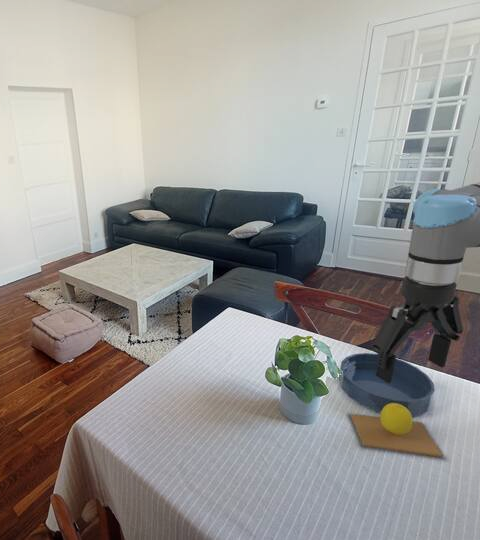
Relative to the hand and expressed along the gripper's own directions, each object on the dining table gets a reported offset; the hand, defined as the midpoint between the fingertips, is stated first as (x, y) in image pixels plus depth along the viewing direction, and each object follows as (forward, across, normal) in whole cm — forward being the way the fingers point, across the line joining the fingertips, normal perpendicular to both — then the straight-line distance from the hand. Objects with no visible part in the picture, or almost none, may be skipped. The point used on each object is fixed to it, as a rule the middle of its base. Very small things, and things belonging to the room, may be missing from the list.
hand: (410, 371), depth 71 cm
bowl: (+17, -9, -12) cm, 23 cm away
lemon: (+17, +1, 0) cm, 17 cm away
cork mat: (+17, +1, 0) cm, 17 cm away
